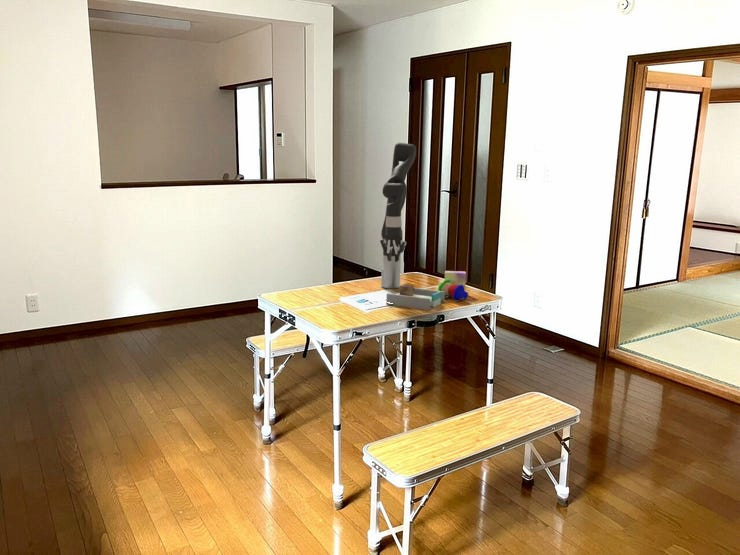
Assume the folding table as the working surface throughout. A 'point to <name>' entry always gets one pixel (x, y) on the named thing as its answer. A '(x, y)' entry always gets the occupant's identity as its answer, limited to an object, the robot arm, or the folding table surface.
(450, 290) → the toy figure
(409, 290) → the walnut block
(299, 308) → the folding table surface
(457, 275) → the box
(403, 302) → the trap track
